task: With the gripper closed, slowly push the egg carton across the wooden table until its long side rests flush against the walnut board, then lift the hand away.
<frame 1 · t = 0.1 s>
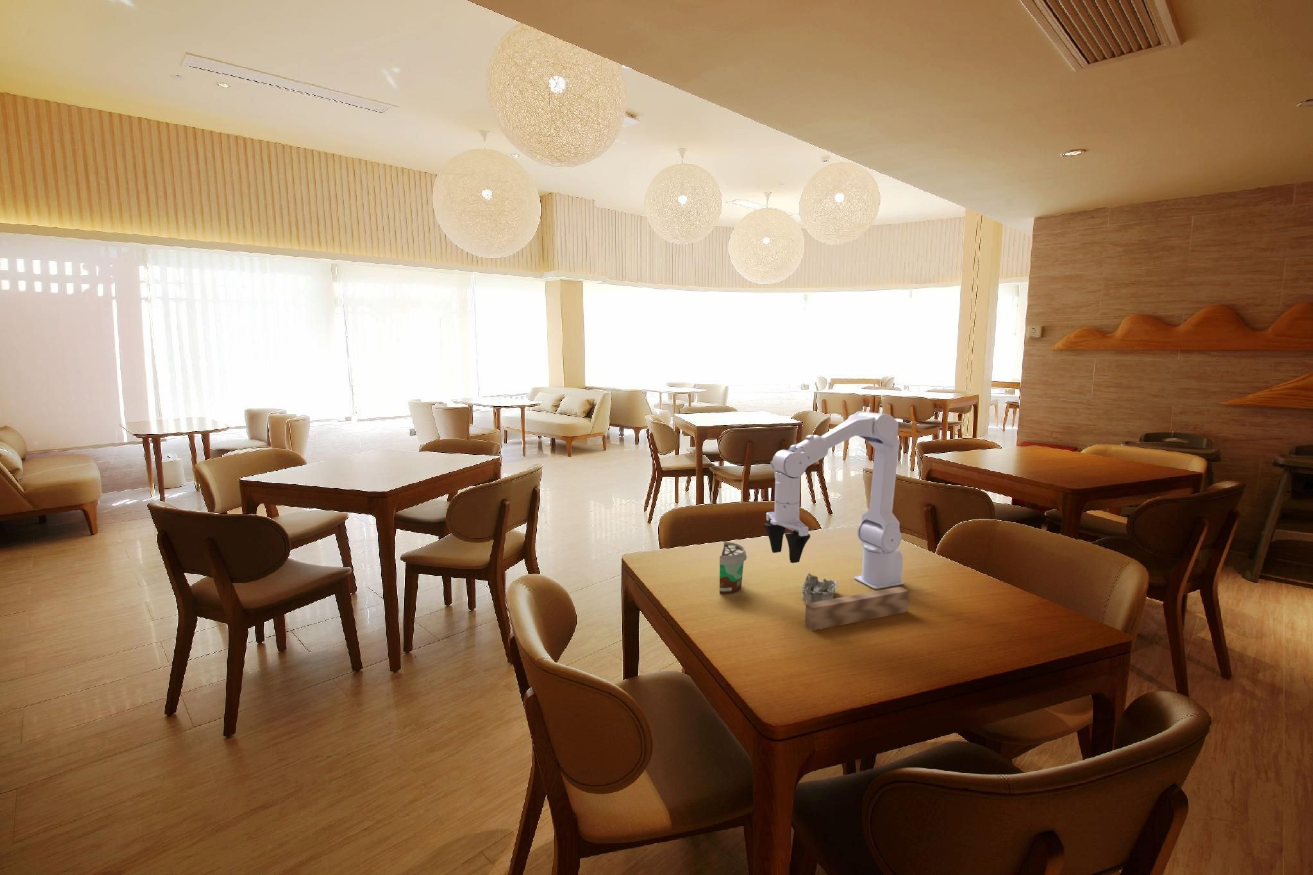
hand: (785, 557, 140), 10 cm above the table, tool pointing down, fingers open, 7 cm apart
egg carton: (819, 597, 142), on the table
walnut board: (857, 618, 130), on the table
food container: (733, 588, 147), on the table
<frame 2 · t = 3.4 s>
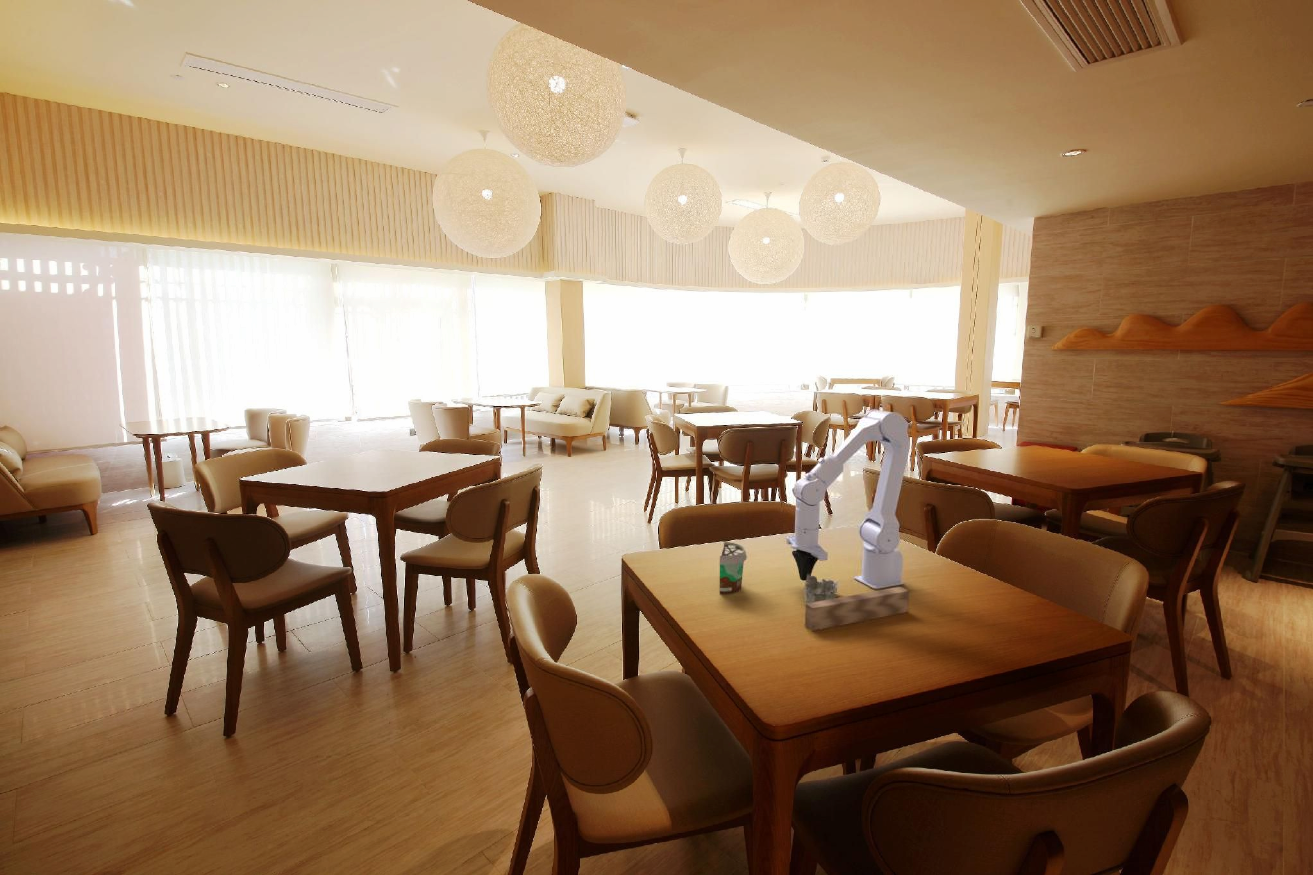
hand: (804, 579, 148), 2 cm above the table, tool pointing down, fingers closed
egg carton: (820, 598, 141), on the table, touching gripper
everything else where it was.
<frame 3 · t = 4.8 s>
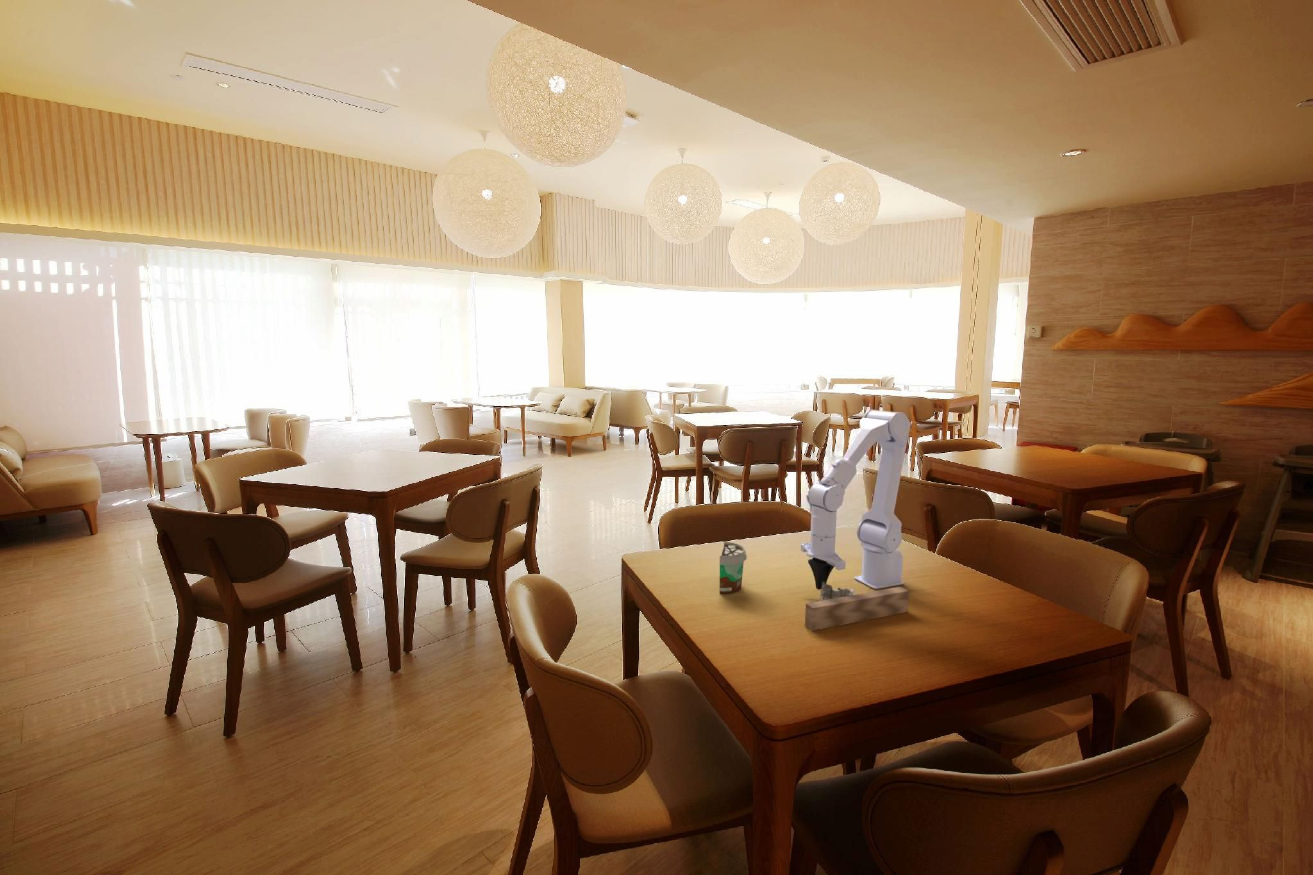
hand: (820, 588, 142), 2 cm above the table, tool pointing down, fingers closed
egg carton: (837, 607, 136), on the table, touching gripper, walnut board
everything else where it was.
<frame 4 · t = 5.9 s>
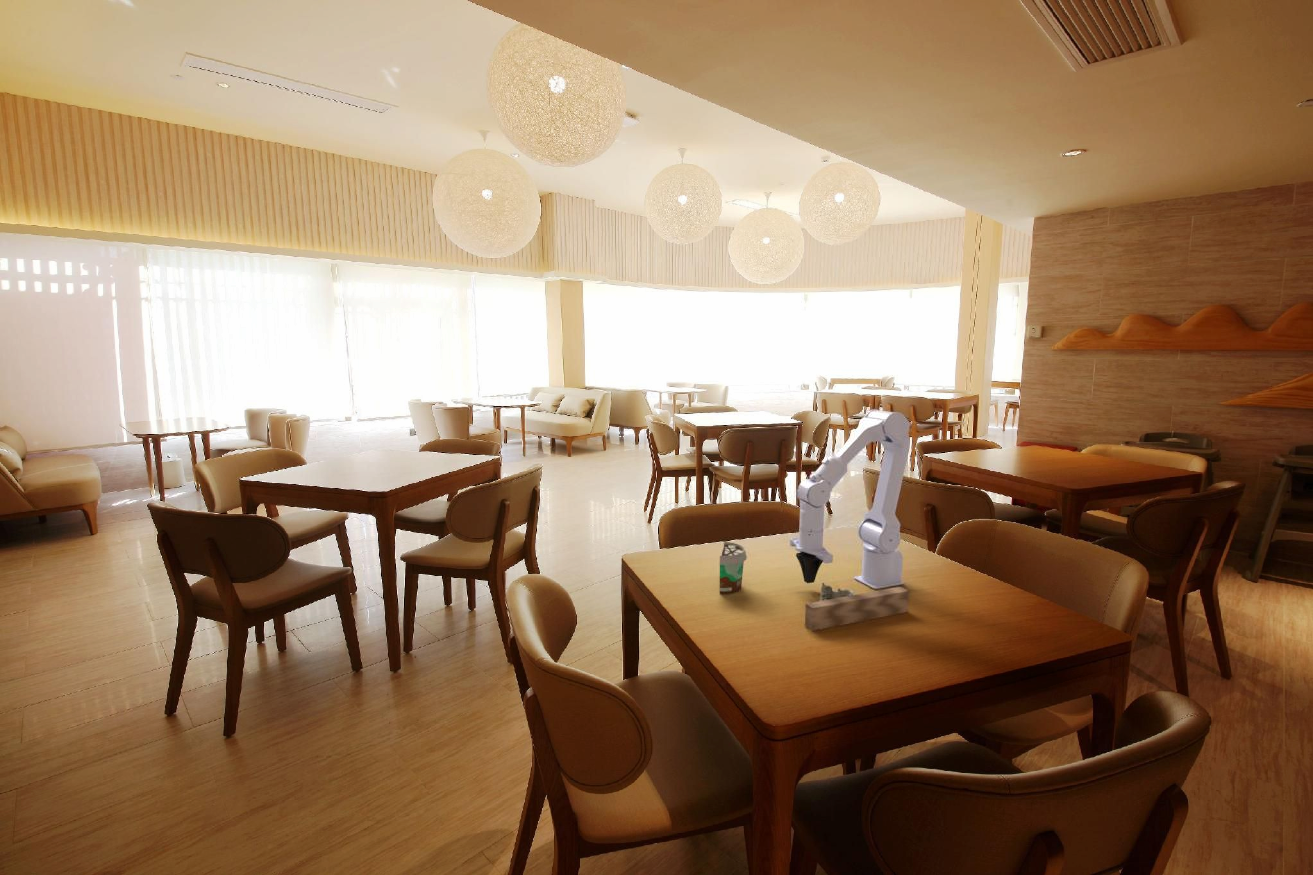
hand: (809, 581, 146), 2 cm above the table, tool pointing down, fingers closed
egg carton: (837, 609, 136), on the table
everything else where it was.
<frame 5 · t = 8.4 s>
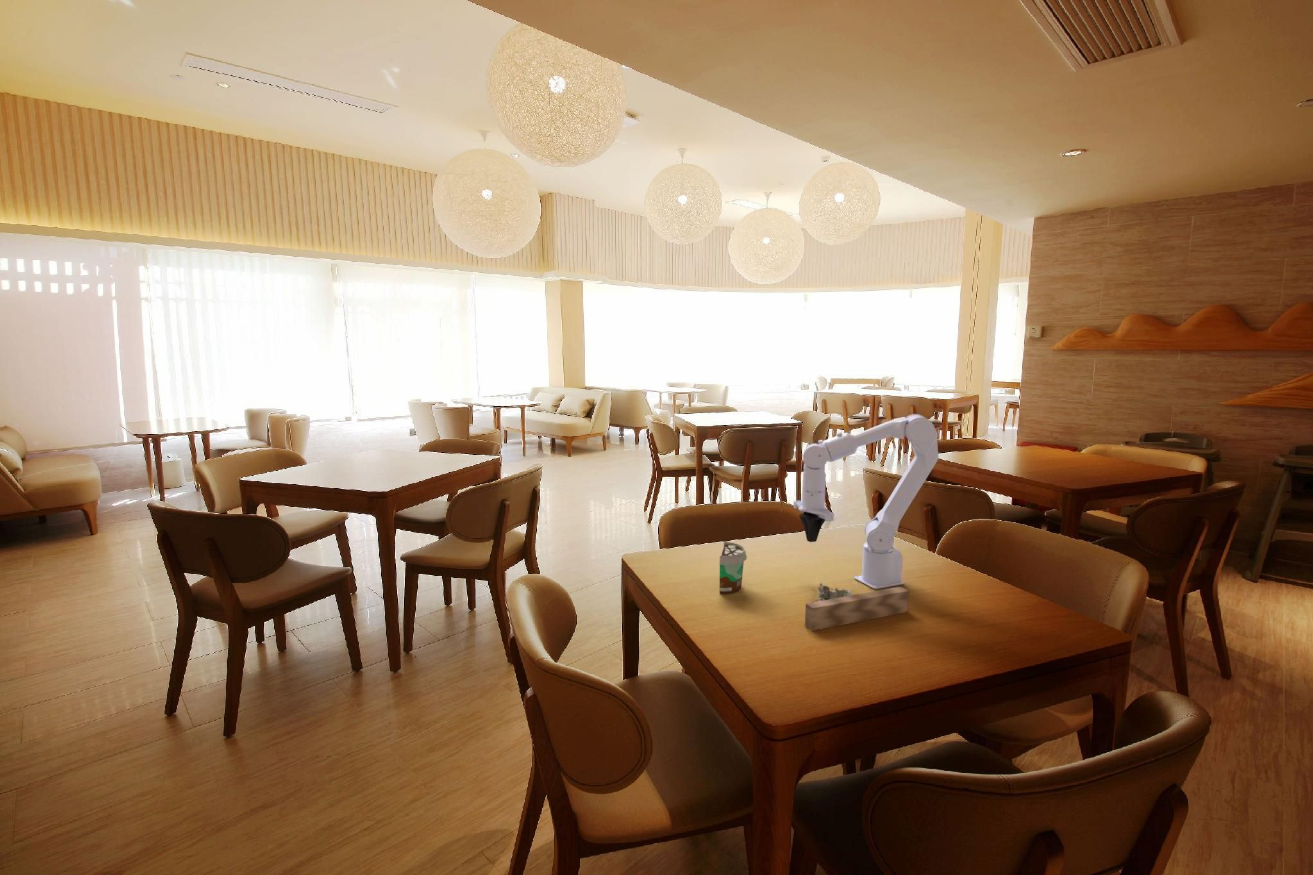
hand: (811, 541, 154), 9 cm above the table, tool pointing down, fingers closed
nothing on the table moved.
at the end: egg carton 0.7 cm from the target spot on the table beside the walnut board, on the table; egg carton tilted 0°; egg carton moved 6.7 cm from its start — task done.
